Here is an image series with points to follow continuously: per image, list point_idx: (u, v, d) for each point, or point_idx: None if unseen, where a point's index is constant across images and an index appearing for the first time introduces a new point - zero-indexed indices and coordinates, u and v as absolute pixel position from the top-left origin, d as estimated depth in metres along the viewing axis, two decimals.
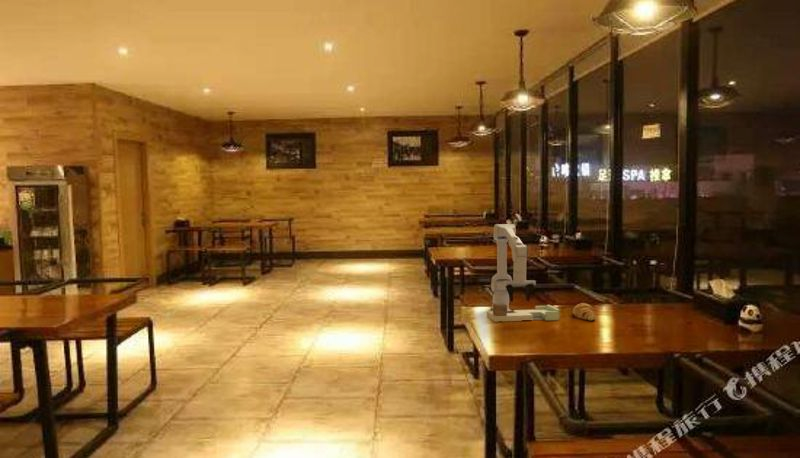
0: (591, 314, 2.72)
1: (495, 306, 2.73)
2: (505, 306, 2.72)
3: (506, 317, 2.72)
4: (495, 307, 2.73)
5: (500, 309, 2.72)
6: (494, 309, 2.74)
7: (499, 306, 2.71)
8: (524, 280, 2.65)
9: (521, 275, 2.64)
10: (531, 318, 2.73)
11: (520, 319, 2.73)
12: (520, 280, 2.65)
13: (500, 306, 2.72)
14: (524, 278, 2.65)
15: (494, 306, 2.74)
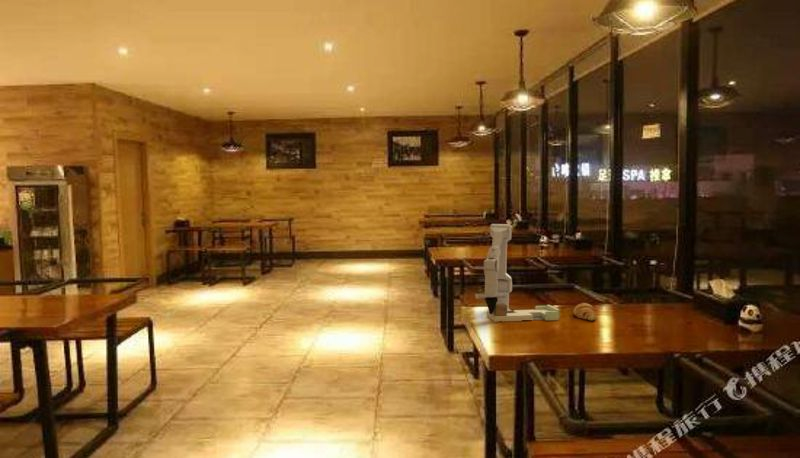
0: (591, 314, 2.72)
1: (495, 306, 2.73)
2: (505, 306, 2.72)
3: (506, 317, 2.72)
4: (495, 307, 2.73)
5: (500, 309, 2.72)
6: (494, 309, 2.74)
7: (499, 306, 2.71)
8: (495, 293, 2.71)
9: (492, 288, 2.70)
10: (531, 318, 2.73)
11: (520, 319, 2.73)
12: (491, 293, 2.70)
13: (500, 306, 2.72)
14: (495, 291, 2.71)
15: None
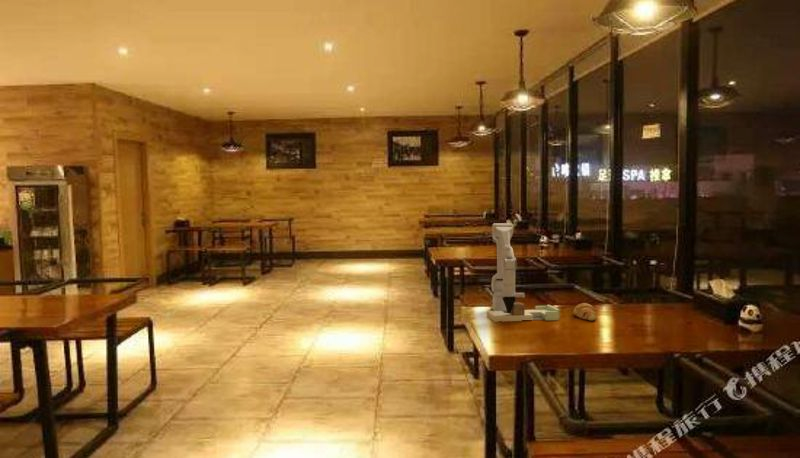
0: (592, 314, 2.72)
1: (513, 305, 2.74)
2: (523, 305, 2.73)
3: (506, 317, 2.72)
4: (512, 306, 2.74)
5: (518, 308, 2.73)
6: (512, 308, 2.75)
7: (517, 305, 2.73)
8: (513, 293, 2.72)
9: (510, 287, 2.71)
10: (531, 318, 2.73)
11: (520, 319, 2.73)
12: (509, 293, 2.71)
13: (518, 305, 2.73)
14: (513, 291, 2.72)
15: None
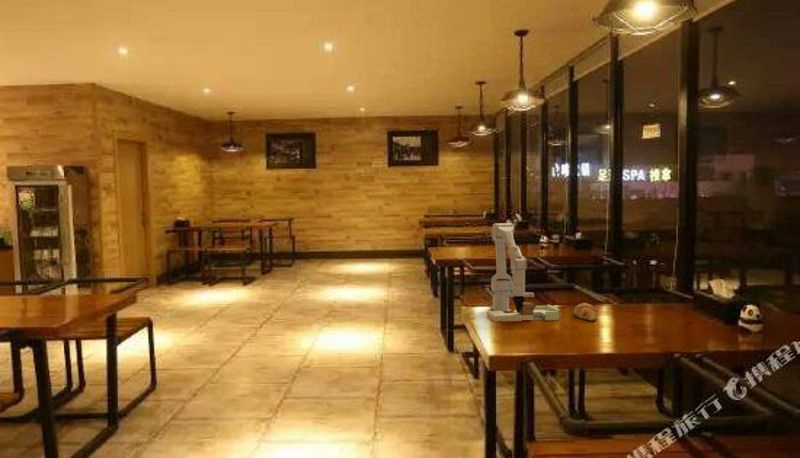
0: (592, 314, 2.72)
1: (522, 305, 2.74)
2: (532, 305, 2.74)
3: (506, 317, 2.72)
4: (521, 306, 2.75)
5: (527, 308, 2.73)
6: (521, 308, 2.76)
7: (526, 305, 2.73)
8: (523, 292, 2.73)
9: (520, 287, 2.72)
10: (531, 318, 2.73)
11: (520, 319, 2.73)
12: (519, 292, 2.72)
13: (527, 305, 2.73)
14: (523, 290, 2.73)
15: None
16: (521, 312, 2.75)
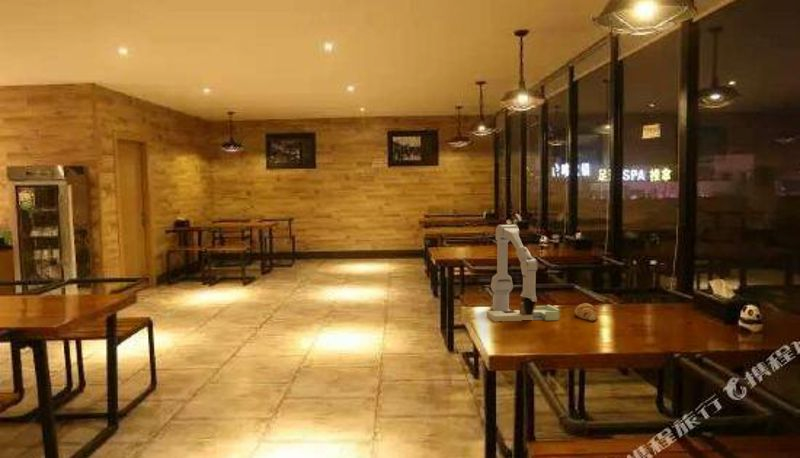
0: (592, 314, 2.72)
1: (522, 305, 2.74)
2: None
3: (506, 317, 2.72)
4: (521, 306, 2.75)
5: None
6: (521, 308, 2.76)
7: None
8: (524, 293, 2.70)
9: (523, 288, 2.71)
10: (531, 318, 2.73)
11: (520, 319, 2.73)
12: (522, 293, 2.71)
13: None
14: (524, 291, 2.70)
15: (521, 305, 2.76)
16: (521, 312, 2.75)
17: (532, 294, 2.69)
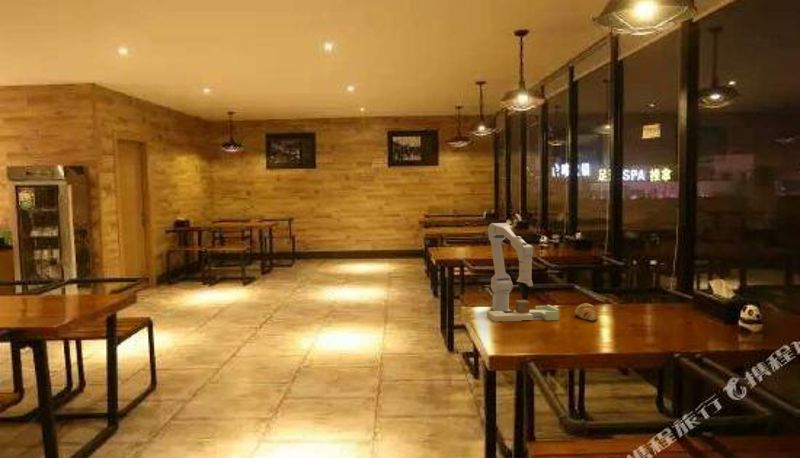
0: (592, 314, 2.72)
1: (518, 303, 2.80)
2: (528, 303, 2.79)
3: (506, 317, 2.72)
4: (517, 304, 2.80)
5: (523, 306, 2.79)
6: (517, 306, 2.81)
7: (522, 303, 2.78)
8: (521, 279, 2.74)
9: (519, 273, 2.76)
10: (531, 318, 2.73)
11: (520, 319, 2.73)
12: (519, 278, 2.76)
13: (523, 303, 2.78)
14: (521, 277, 2.74)
15: (517, 303, 2.81)
16: (517, 310, 2.81)
17: (528, 279, 2.73)
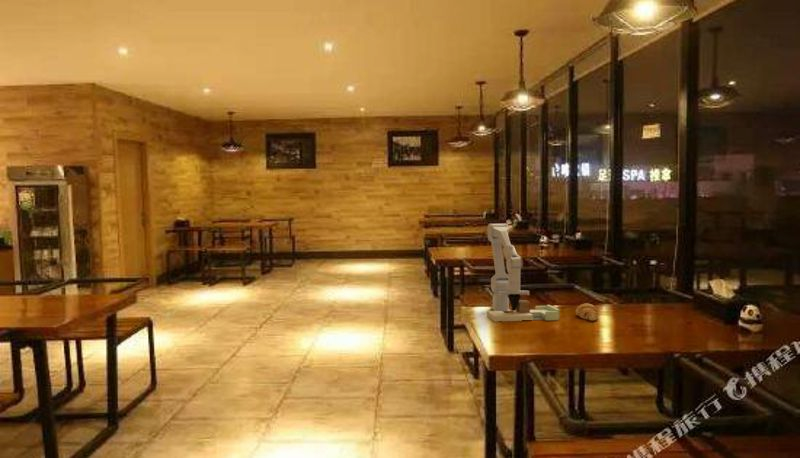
0: (592, 314, 2.72)
1: (518, 303, 2.80)
2: (528, 303, 2.79)
3: (506, 317, 2.72)
4: (518, 304, 2.80)
5: (523, 306, 2.79)
6: (517, 306, 2.81)
7: (522, 303, 2.78)
8: (518, 290, 2.79)
9: (515, 285, 2.78)
10: (531, 318, 2.73)
11: (520, 319, 2.73)
12: (514, 290, 2.78)
13: (523, 303, 2.78)
14: (518, 288, 2.78)
15: None
16: (518, 310, 2.81)
17: None
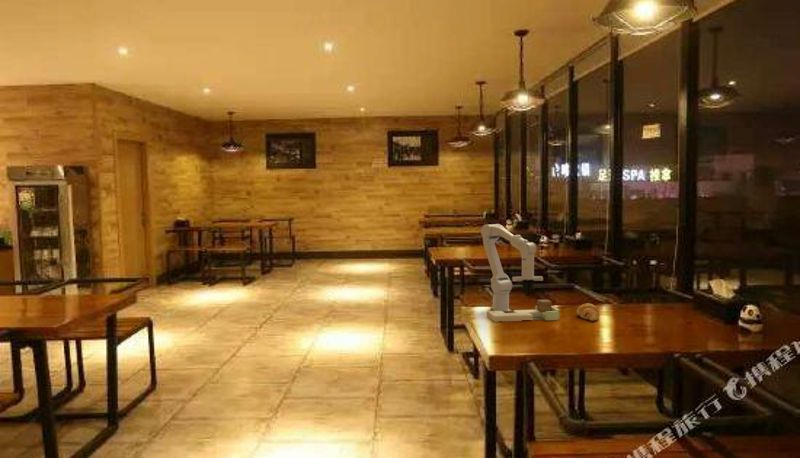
0: (593, 314, 2.72)
1: (540, 302, 2.81)
2: (550, 302, 2.80)
3: (506, 317, 2.72)
4: (539, 303, 2.82)
5: (545, 305, 2.80)
6: (539, 305, 2.83)
7: (544, 302, 2.80)
8: (532, 276, 2.79)
9: (529, 271, 2.78)
10: (531, 318, 2.73)
11: (520, 319, 2.73)
12: (528, 276, 2.78)
13: (545, 302, 2.80)
14: (532, 274, 2.79)
15: (539, 302, 2.83)
16: (539, 309, 2.82)
17: None
